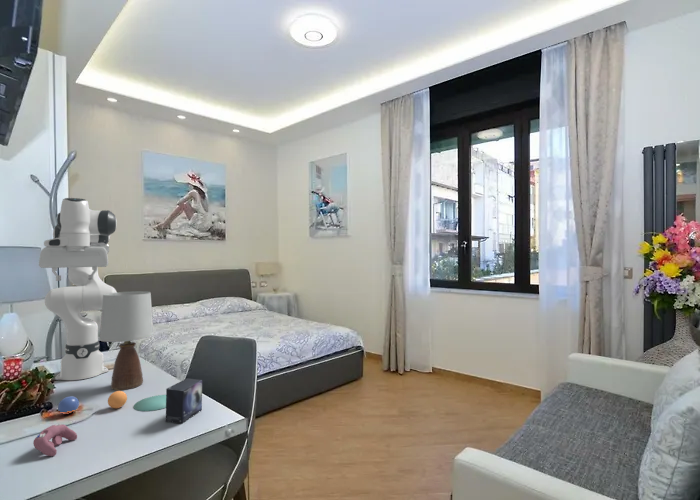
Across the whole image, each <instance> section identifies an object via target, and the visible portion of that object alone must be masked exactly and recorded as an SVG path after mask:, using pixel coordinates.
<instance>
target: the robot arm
mask: <svg viewBox="0 0 700 500" xmlns="http://www.w3.org/2000/svg"><path fill="white" fill-rule="evenodd" d="M117 224H118V221H117V217H116V214H114V213H113V212H112V210H106V209H105V210H99V209H98V210H97V209H94V210H93V209H91V208H90V205H89V201H88V200H87V199H85V198H80V197H79V198H78V197H76V198H75V197H65V198H62V202H61V204H60V212H58V213H57V224H56V225H55V226H54V229H52V230H53V231H52V237H53V238H50V239H47V240H44V241H43V246H44V247H43V248H42V249H41V251H40V254H39V259H38V266H39V268H41V269H49V268H51V271H52V273H53V274H54V276H55V281H56V282H61V281H62V275H58V273H57V272H56V271H58V269H59V268H62V269H63V268H68V274H67V276H68V277H67V278H68V280H69V282H70V283H72V285H73V286H61V287H56V288H52V289H50V290H49V291H48V292H47V293H46V295H45V297H44V304H45V307H46V309H48V311H49V312H51V313H53V314H55V315H57V317H59V318H60V319H61V321H62V322H63V323H64V326H65V331H66V332H65V333H66V344H65V348H64V350H65V355H64V356H63V357H62V358H61V359H60V372H59V373H58V374H57V375H56V376H55V377H54V380H56V381H57V380H58V381H59V380H60V381H61V380H62V381H78V380H80V381H81V380H83V379H89V378H93V377H94V378H95V377H96V376H99V375H102V374H104V373H107V372H109V369H108V367H106V366H105V365H104V353H102V352H101V351H100V350H99V349H100V340H99V325H98V323H97V322H96V321H95V320H93V319H91V318H87V317H85V316H82V314H81V312H88V311H89V312H90V311H99V310H100V311H102V303H103V295H104V294H108V293H117V289H116V288H115V287H114V286H112V285H109V284H107V283H105V281H103V280H102V279H101V278H100V275H99V268H105V267H107V266H108V265H109V256H108V254H109V252H110V246H109V244H108V243H109V241H110V239H111V235H112V234H114V233H115V231H116V230H117V226H118V225H117Z"/></svg>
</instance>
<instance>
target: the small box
mask: <svg viewBox="0 0 700 500" xmlns="http://www.w3.org/2000/svg"><path fill="white" fill-rule="evenodd" d="M165 390H166V393H165V395H166V408H165V423H174V424H175V423H176V424H183V422H184V423H185V422H187V421H188V420H190V419H191V418H192V417H194V416H196V415H197V414H198V413H200V412H202V411H201V410H203V403H202V402H203V379H198V378H197V379H196V378H195V379H194V378H185V379H182V380H181V381H179V382H177V383H175V384H173V385H171V386H169V387H167V388H166V389H165ZM199 411H200V412H199ZM193 415H194V416H193ZM189 418H190V419H189ZM186 420H187V421H186Z"/></svg>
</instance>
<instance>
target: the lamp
mask: <svg viewBox="0 0 700 500" xmlns="http://www.w3.org/2000/svg"><path fill="white" fill-rule="evenodd" d="M151 294H152V293H151V291H143V290H142V291H138V290H137V291H120V292H117V293H108V294H104V295H103V303H102V310H101V315H100V316H101V317H100V329H99V330H100V331H99V342H100V341H101V342H104V343H119V344H118V347H119V350H118V353H117V355H116V358H115V361H114V364H113V369H112V374H111V375H112V376H111V381H110V389H112V390H114V391H122V390H123V391H124V390H130V389H134V388H138V387H139V386H141V385H143V383H144V379H143V378H144V377H143V371H142V366H141V365H142V364H141V361H140V356H139V354H138V351H137V350H136V347H135V346H137V343H136V342H134V341H138V340H144V339H147V338H150V337H153V336H154V322H153V307H152V295H151ZM120 342H121V343H120Z"/></svg>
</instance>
